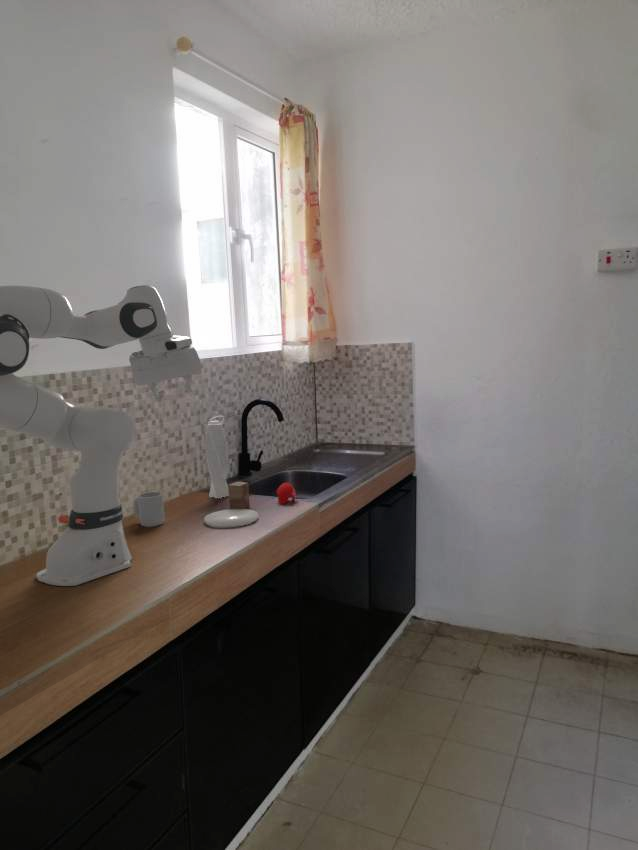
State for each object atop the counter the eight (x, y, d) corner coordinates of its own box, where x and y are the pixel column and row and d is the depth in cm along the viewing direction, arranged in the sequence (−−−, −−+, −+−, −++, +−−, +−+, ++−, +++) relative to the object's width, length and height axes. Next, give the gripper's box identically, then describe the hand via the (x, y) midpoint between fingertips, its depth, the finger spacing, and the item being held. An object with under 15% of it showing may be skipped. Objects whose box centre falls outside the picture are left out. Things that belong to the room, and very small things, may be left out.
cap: (280, 488, 212) (271, 483, 207) (295, 483, 210) (287, 477, 205) (283, 510, 208) (274, 505, 203) (299, 505, 206) (290, 499, 201)
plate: (236, 530, 177) (236, 526, 177) (193, 524, 185) (193, 520, 185) (268, 515, 191) (268, 511, 191) (227, 510, 199) (226, 506, 199)
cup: (155, 528, 184) (152, 498, 183) (127, 525, 188) (124, 496, 186) (169, 520, 190) (167, 492, 189) (142, 518, 194) (140, 490, 193)
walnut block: (241, 510, 198) (239, 485, 197) (229, 509, 201) (228, 484, 200) (249, 506, 202) (248, 482, 201) (238, 505, 205) (236, 481, 203)
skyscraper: (222, 492, 223) (216, 414, 220) (236, 495, 219) (230, 415, 215) (204, 497, 218) (198, 417, 214) (218, 500, 213) (212, 418, 209)
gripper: (120, 355, 169) (136, 404, 172) (184, 340, 162) (199, 392, 165) (134, 351, 175) (149, 398, 178) (196, 336, 167) (210, 386, 171)
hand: (174, 395), depth 171 cm, fingers open, 8 cm apart
